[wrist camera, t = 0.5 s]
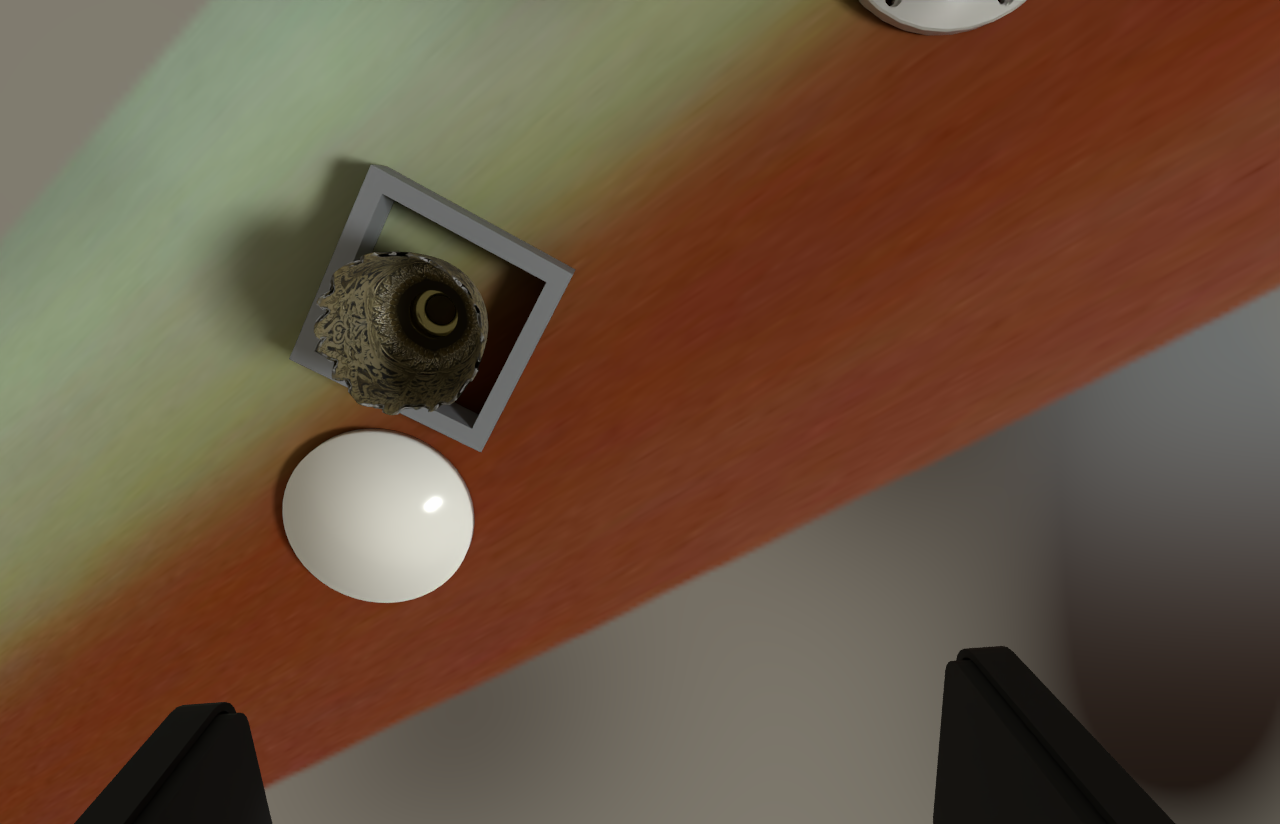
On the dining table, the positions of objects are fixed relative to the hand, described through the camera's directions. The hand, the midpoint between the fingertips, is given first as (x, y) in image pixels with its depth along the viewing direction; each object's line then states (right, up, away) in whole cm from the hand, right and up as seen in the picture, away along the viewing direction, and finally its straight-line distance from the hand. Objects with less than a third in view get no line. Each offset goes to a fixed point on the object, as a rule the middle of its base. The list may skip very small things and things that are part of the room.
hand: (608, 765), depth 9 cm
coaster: (-15, -1, +33) cm, 36 cm away
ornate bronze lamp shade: (-11, +10, +29) cm, 33 cm away
